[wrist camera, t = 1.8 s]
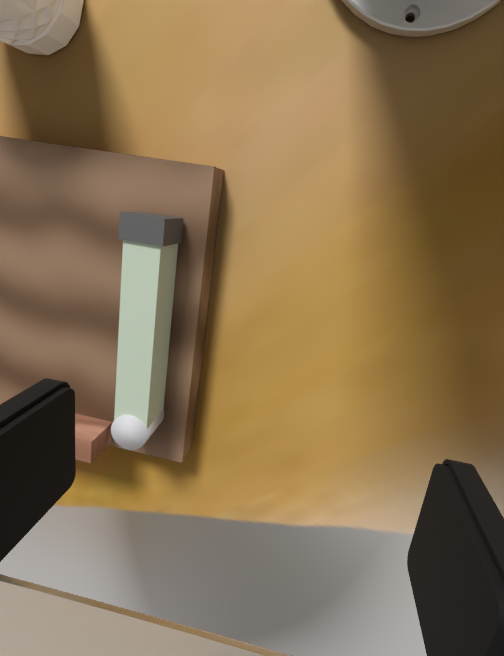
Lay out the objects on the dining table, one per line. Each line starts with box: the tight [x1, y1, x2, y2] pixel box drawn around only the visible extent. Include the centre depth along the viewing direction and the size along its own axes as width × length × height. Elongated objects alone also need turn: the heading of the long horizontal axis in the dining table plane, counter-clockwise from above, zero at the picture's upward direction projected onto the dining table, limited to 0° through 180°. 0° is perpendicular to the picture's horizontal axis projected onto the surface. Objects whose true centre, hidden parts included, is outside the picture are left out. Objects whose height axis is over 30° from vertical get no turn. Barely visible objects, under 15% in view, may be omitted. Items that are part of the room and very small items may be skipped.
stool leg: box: [111, 212, 183, 450], centre depth 28 cm, size 16×3×3 cm, turn 171°
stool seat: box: [0, 136, 224, 463], centre depth 30 cm, size 22×18×6 cm
